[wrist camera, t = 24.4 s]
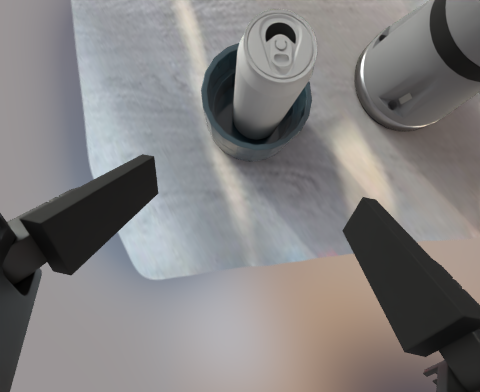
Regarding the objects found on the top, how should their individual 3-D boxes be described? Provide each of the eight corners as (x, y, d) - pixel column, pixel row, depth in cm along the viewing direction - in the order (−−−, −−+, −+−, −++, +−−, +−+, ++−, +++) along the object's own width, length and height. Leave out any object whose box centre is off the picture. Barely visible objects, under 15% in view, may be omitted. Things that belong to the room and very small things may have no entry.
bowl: (286, 76, 26) (304, 39, 20) (296, 157, 26) (317, 144, 20) (203, 80, 25) (196, 42, 19) (212, 165, 25) (208, 154, 19)
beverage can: (277, 97, 26) (322, 5, 14) (277, 142, 25) (324, 88, 13) (232, 95, 25) (238, -3, 13) (232, 141, 25) (238, 84, 13)
